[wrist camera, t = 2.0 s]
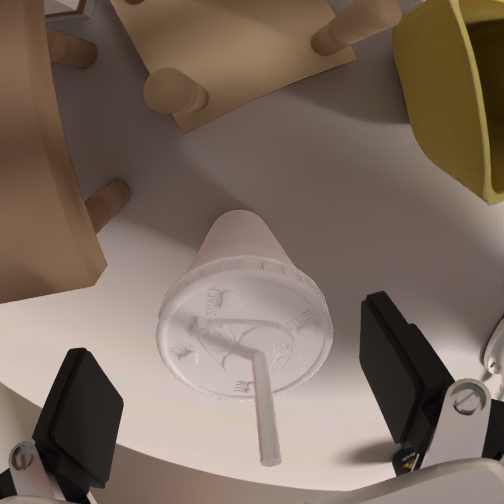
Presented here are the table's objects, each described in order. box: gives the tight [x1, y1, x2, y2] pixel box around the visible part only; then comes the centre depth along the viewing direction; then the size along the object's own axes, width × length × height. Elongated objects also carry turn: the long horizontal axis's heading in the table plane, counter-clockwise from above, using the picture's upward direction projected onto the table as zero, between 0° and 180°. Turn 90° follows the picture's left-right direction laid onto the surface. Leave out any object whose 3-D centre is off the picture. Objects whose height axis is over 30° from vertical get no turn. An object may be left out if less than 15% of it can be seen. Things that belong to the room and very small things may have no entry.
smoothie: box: [156, 210, 333, 467], centre depth 13 cm, size 6×6×14 cm
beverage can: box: [392, 446, 418, 476], centre depth 30 cm, size 7×7×12 cm
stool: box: [0, 0, 131, 304], centre depth 12 cm, size 12×12×9 cm
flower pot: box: [392, 0, 504, 205], centre depth 11 cm, size 9×9×9 cm
